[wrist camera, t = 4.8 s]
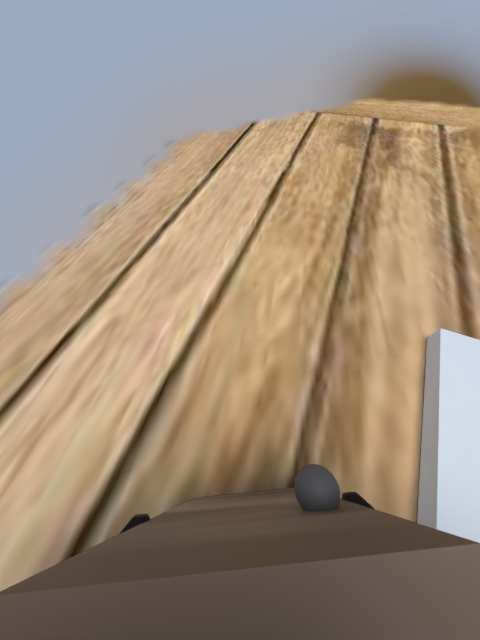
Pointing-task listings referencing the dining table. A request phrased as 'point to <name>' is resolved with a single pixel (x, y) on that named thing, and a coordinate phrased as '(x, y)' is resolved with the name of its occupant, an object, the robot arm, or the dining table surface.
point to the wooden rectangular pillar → (258, 575)
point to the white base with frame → (451, 436)
